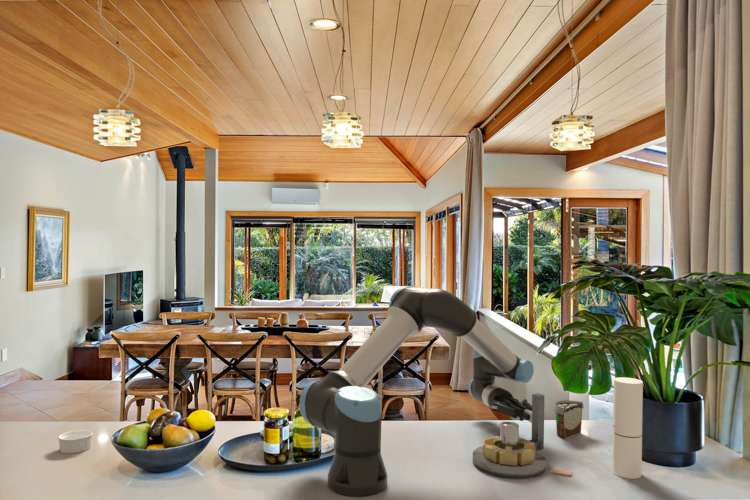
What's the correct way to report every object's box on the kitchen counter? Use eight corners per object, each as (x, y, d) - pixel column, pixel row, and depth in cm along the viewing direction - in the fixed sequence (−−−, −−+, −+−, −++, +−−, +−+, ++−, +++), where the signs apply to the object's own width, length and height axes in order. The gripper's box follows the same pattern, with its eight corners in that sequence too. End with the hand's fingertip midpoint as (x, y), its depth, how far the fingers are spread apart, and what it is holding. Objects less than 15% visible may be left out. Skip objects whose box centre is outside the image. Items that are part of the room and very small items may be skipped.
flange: (492, 482, 144) (493, 439, 144) (461, 453, 164) (461, 416, 163) (561, 474, 149) (561, 433, 149) (523, 448, 169) (523, 411, 169)
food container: (566, 427, 189) (566, 397, 189) (583, 432, 184) (583, 401, 184) (545, 435, 181) (545, 404, 181) (562, 440, 176) (562, 408, 176)
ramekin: (55, 448, 165) (56, 433, 165) (89, 442, 170) (89, 427, 170) (60, 457, 158) (60, 441, 158) (95, 450, 163) (95, 435, 163)
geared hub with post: (507, 468, 147) (508, 409, 147) (473, 451, 159) (473, 396, 159) (559, 455, 156) (560, 400, 156) (523, 440, 169) (523, 388, 168)
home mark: (551, 473, 150) (551, 471, 150) (552, 469, 153) (552, 468, 153) (570, 476, 148) (570, 475, 148) (571, 473, 150) (571, 471, 150)
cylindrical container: (635, 468, 154) (637, 377, 154) (645, 479, 147) (647, 384, 147) (608, 467, 155) (610, 376, 155) (617, 477, 148) (618, 383, 147)
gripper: (480, 388, 184) (519, 409, 162) (514, 386, 188) (557, 405, 166) (480, 411, 185) (518, 435, 162) (514, 408, 188) (557, 431, 166)
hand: (538, 420), depth 164 cm, fingers closed
